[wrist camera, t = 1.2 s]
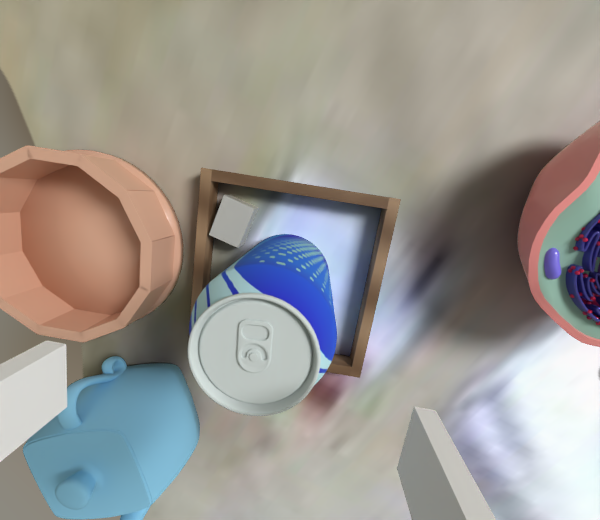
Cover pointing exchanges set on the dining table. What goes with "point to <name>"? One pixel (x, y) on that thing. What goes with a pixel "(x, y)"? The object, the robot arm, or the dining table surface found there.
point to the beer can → (264, 328)
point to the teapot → (115, 441)
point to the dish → (83, 242)
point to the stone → (233, 220)
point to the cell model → (566, 238)
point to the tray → (388, 205)
